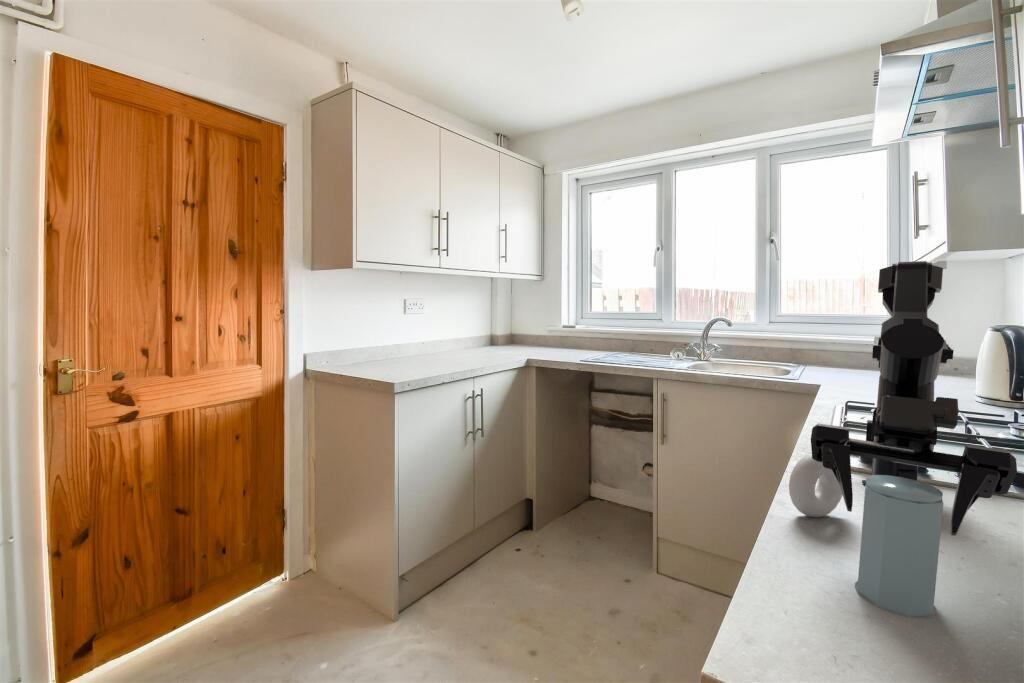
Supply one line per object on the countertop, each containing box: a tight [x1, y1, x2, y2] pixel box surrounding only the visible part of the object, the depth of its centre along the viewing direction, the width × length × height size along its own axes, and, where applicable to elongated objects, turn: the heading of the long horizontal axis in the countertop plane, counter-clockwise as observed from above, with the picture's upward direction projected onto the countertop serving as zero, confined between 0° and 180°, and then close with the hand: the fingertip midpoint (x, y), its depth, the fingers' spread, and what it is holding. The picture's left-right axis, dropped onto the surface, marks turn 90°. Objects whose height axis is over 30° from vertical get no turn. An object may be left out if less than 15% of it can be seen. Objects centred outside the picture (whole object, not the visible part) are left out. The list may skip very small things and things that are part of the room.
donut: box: [788, 452, 843, 518], centre depth 73 cm, size 10×3×10 cm, turn 112°
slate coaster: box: [854, 580, 937, 619], centre depth 53 cm, size 7×7×1 cm
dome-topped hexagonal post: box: [856, 474, 944, 618], centre depth 52 cm, size 6×6×13 cm
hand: (898, 521), depth 54 cm, fingers open, 9 cm apart
